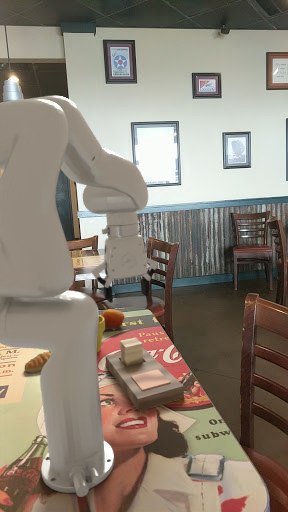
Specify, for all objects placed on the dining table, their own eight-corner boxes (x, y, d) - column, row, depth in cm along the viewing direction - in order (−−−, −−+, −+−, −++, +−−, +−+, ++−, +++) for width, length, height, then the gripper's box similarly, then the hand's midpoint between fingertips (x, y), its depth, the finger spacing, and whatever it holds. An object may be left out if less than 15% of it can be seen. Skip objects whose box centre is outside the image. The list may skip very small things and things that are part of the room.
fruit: (95, 330, 126) (98, 306, 129) (103, 333, 133) (106, 311, 136) (117, 331, 124) (120, 307, 126) (125, 335, 131) (128, 312, 134)
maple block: (144, 372, 99) (142, 343, 97) (127, 376, 97) (125, 347, 95) (137, 365, 103) (135, 337, 101) (122, 369, 101) (119, 340, 100)
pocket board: (184, 398, 85) (183, 384, 85) (139, 411, 81) (138, 397, 81) (143, 357, 107) (142, 346, 107) (106, 366, 103) (105, 354, 103)
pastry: (30, 377, 100) (29, 364, 99) (20, 369, 105) (19, 356, 104) (62, 365, 106) (61, 352, 105) (51, 358, 111) (50, 346, 110)
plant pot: (101, 359, 108) (98, 326, 106) (67, 358, 109) (63, 326, 108) (110, 344, 118) (108, 314, 116) (78, 343, 119) (76, 314, 118)
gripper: (92, 236, 87) (99, 308, 90) (161, 229, 93) (164, 295, 96) (84, 233, 93) (90, 300, 97) (148, 226, 100) (152, 289, 103)
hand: (127, 297), depth 96 cm, fingers open, 9 cm apart
